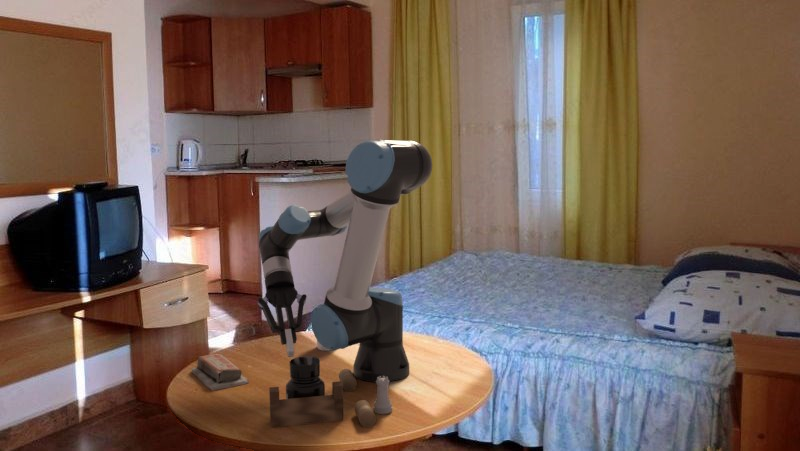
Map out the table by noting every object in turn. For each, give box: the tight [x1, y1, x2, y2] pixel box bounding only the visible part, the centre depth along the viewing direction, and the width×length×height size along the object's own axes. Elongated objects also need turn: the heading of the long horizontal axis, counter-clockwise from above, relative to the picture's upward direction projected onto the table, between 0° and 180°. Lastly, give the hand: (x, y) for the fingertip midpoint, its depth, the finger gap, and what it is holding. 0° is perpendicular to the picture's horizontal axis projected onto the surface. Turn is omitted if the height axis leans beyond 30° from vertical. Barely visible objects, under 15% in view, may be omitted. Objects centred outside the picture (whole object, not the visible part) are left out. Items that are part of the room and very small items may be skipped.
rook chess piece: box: [372, 376, 393, 415], centre depth 156 cm, size 4×4×8 cm
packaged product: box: [191, 353, 250, 391], centre depth 181 cm, size 18×5×10 cm
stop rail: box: [268, 380, 345, 428], centre depth 151 cm, size 16×3×8 cm, turn 103°
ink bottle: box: [285, 355, 326, 399], centre depth 157 cm, size 10×9×12 cm
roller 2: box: [354, 399, 377, 428], centre depth 151 cm, size 7×4×4 cm, turn 13°
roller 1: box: [338, 368, 358, 392], centre depth 173 cm, size 7×4×4 cm, turn 13°
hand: (291, 354), depth 169 cm, fingers closed
